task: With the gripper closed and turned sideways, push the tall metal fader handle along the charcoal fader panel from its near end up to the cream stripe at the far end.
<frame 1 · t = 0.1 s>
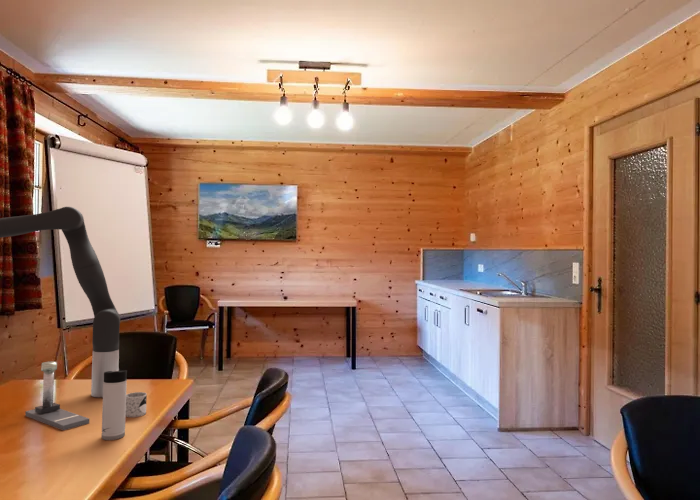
travel mug: (113, 437, 140), on the table
fader: (48, 386, 157), point 10 cm above the table, slide at 0.0 cm
mug: (136, 413, 162), on the table
fader panel: (56, 419, 154), on the table
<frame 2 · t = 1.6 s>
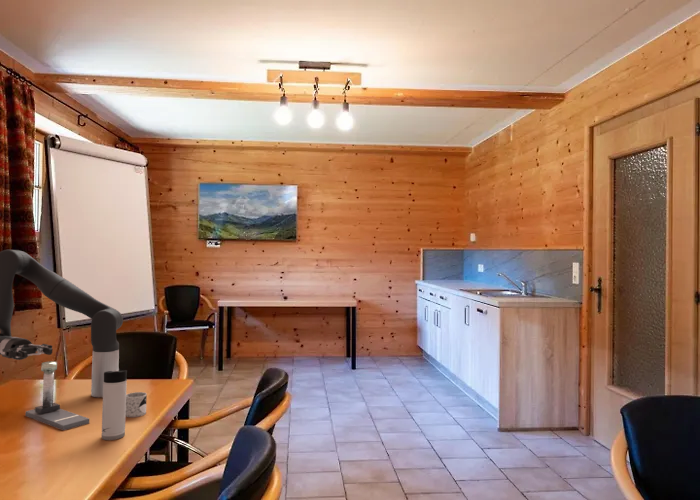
hand: (38, 353, 161), 20 cm above the table, tool horizontal, fingers open, 7 cm apart
nothing on the table moved.
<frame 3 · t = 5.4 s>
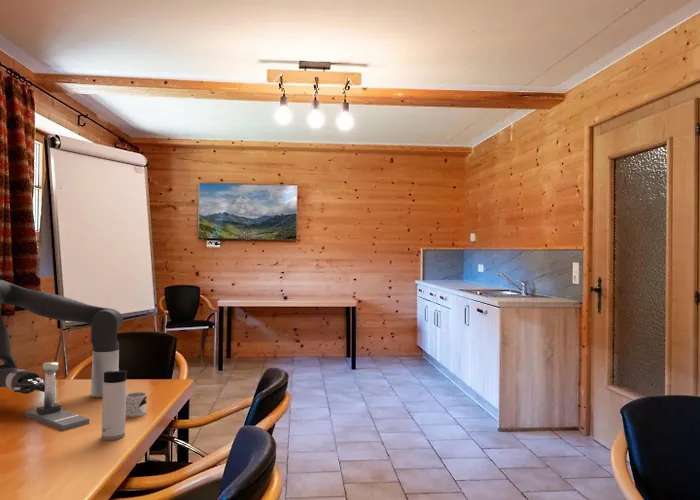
hand: (47, 388, 157), 9 cm above the table, tool horizontal, fingers closed
fader: (49, 387, 156), point 10 cm above the table, slide at 1.0 cm, touching gripper
everything else where it was.
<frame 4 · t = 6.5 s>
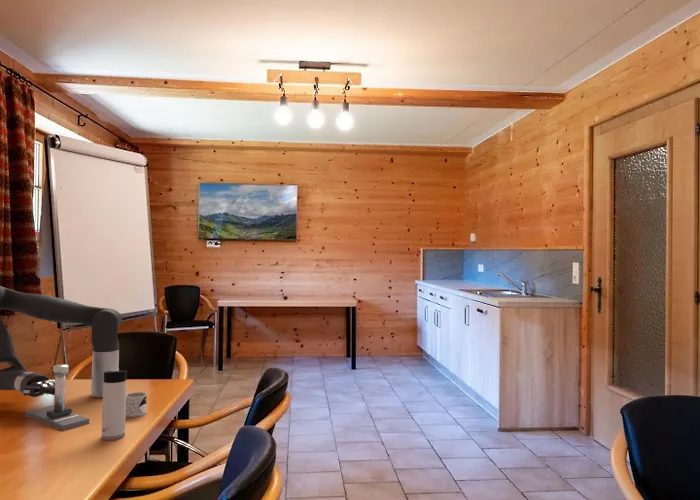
hand: (57, 391, 154), 9 cm above the table, tool horizontal, fingers closed
fader: (60, 390, 153), point 10 cm above the table, slide at 7.4 cm, touching gripper
everything else where it was.
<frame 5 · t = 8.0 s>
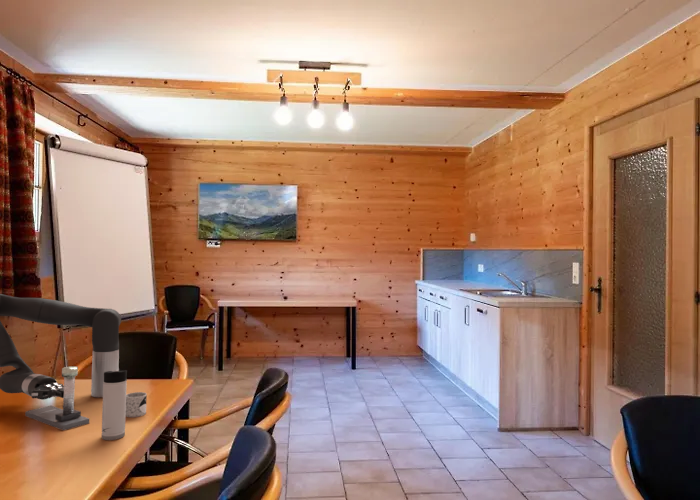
hand: (66, 394, 151), 9 cm above the table, tool horizontal, fingers closed
fader: (69, 392, 150), point 10 cm above the table, slide at 12.9 cm, touching gripper
everything else where it was.
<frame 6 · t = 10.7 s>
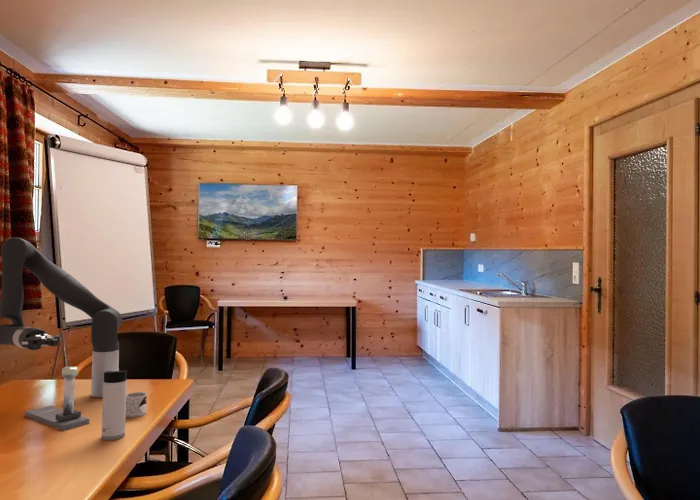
hand: (55, 342, 156), 25 cm above the table, tool horizontal, fingers closed
fader: (69, 392, 150), point 10 cm above the table, slide at 12.9 cm
everything else where it was.
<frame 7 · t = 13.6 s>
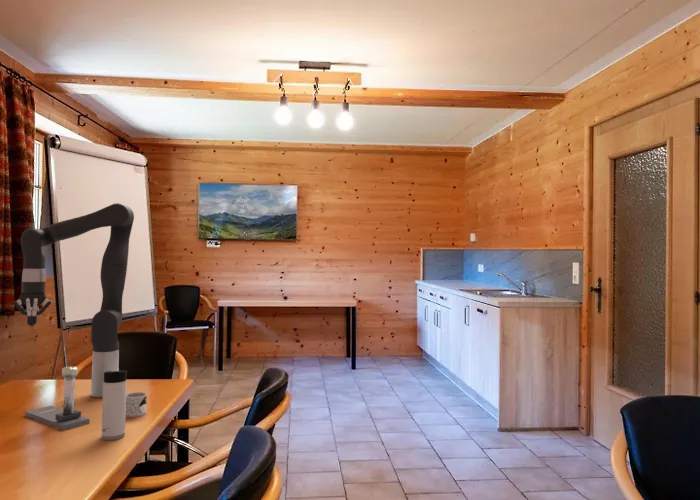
hand: (32, 325, 179), 27 cm above the table, tool pointing down, fingers closed
nothing on the table moved.
at the end: fader slide at 12.9 cm; mug moved 0.3 cm from its start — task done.
